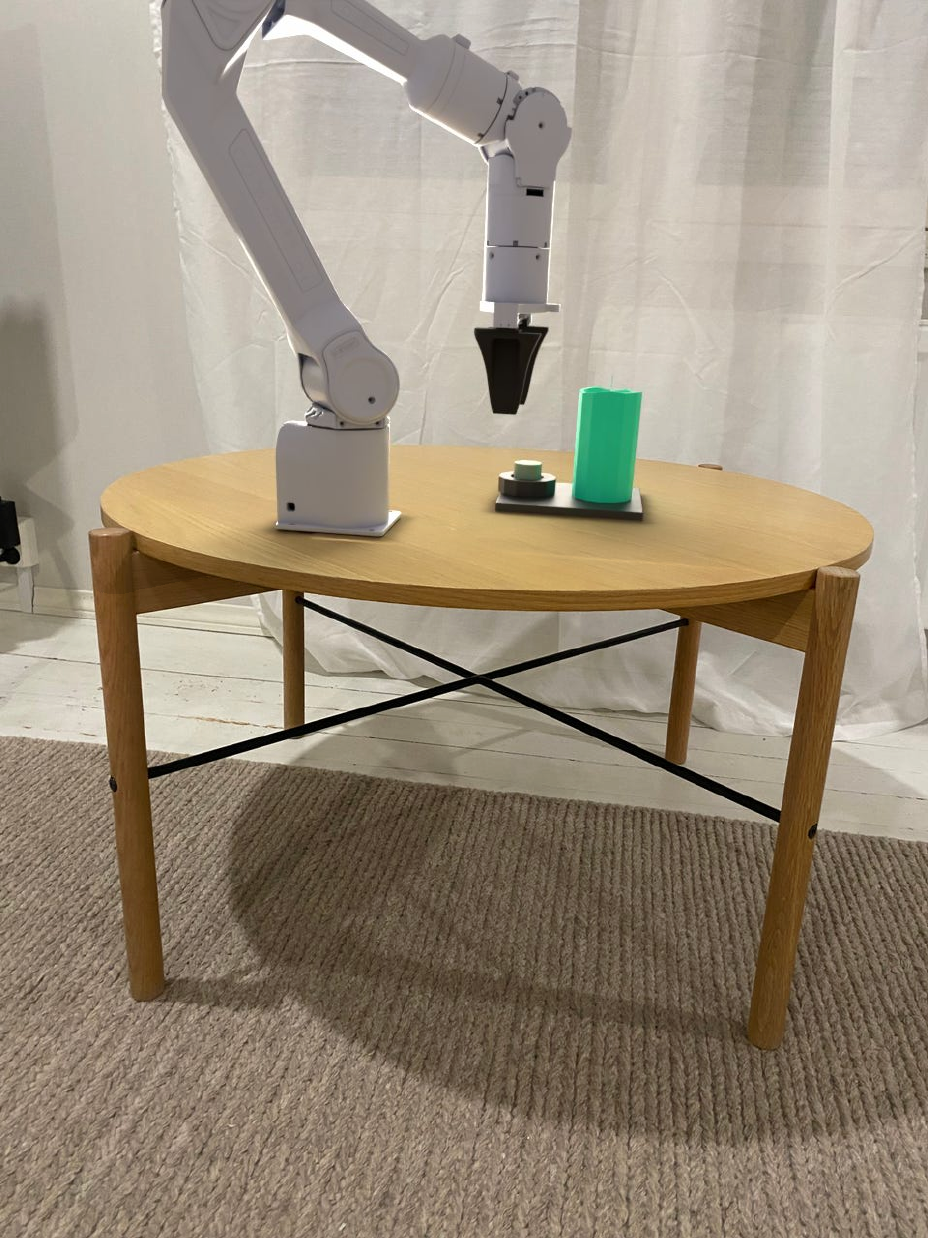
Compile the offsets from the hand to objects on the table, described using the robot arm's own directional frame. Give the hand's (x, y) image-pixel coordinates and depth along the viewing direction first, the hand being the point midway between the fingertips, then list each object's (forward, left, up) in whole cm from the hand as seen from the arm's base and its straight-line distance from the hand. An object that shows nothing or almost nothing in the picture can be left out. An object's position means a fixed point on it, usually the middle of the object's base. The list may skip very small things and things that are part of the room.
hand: (509, 408), depth 84 cm
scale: (+6, +7, -10) cm, 14 cm away
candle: (+9, +7, -9) cm, 15 cm away
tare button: (+1, +7, -8) cm, 11 cm away
